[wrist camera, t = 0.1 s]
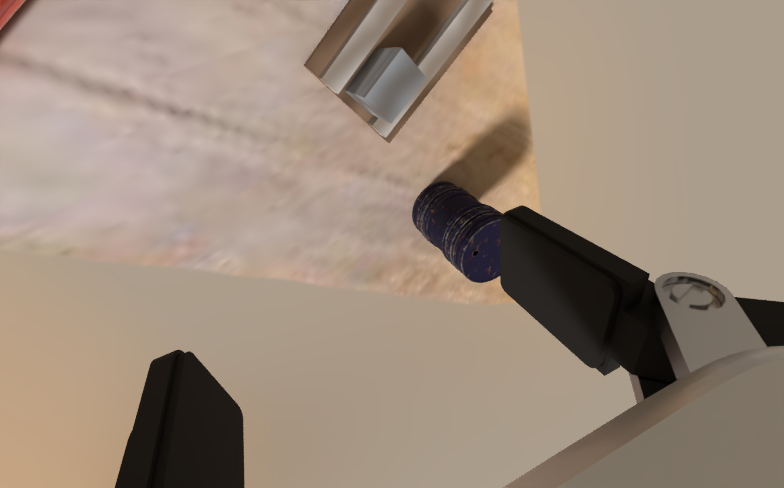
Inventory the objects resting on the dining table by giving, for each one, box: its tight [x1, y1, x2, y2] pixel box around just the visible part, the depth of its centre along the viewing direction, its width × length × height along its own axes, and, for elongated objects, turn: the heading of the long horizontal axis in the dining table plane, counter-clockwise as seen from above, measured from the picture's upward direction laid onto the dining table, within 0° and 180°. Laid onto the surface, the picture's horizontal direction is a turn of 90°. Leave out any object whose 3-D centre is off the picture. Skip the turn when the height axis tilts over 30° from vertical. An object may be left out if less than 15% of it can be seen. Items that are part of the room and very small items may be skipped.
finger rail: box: [304, 0, 493, 143], centre depth 37 cm, size 14×21×9 cm, turn 136°
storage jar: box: [412, 182, 503, 283], centre depth 50 cm, size 10×10×15 cm
